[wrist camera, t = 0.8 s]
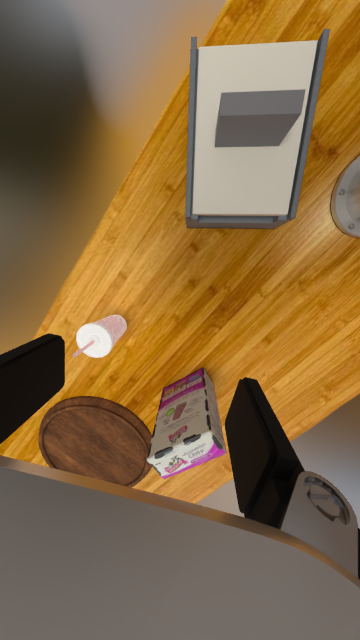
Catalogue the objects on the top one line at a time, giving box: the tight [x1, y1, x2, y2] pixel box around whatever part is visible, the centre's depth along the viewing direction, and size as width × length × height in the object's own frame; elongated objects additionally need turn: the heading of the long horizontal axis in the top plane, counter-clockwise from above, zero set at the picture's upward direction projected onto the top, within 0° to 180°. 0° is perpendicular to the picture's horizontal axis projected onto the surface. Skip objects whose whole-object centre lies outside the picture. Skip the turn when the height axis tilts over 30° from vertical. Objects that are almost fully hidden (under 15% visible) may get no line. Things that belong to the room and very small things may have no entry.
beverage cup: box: [73, 314, 127, 358], centre depth 32 cm, size 6×6×14 cm
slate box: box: [186, 29, 330, 229], centre depth 26 cm, size 15×18×7 cm
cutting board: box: [39, 396, 152, 488], centre depth 48 cm, size 32×32×2 cm
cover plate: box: [192, 40, 318, 216], centre depth 21 cm, size 13×17×6 cm
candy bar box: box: [147, 368, 226, 479], centre depth 33 cm, size 11×5×16 cm, turn 124°
